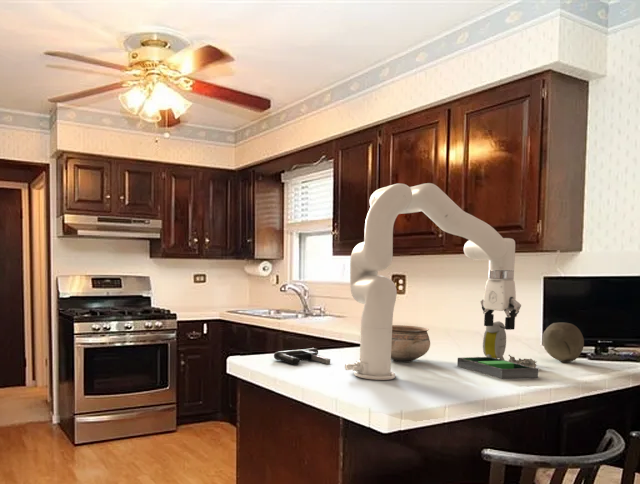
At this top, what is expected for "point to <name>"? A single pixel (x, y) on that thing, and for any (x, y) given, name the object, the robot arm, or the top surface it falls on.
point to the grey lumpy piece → (523, 361)
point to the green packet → (499, 364)
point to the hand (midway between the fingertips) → (498, 327)
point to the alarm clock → (494, 340)
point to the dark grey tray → (516, 373)
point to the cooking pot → (409, 342)
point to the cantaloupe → (563, 341)
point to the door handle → (300, 356)
